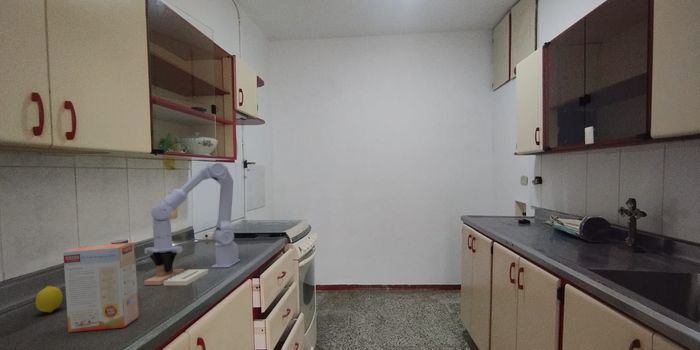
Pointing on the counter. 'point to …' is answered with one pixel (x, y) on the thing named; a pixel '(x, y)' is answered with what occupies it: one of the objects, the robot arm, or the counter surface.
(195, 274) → the board
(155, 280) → the stub
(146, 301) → the counter surface
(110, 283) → the cracker box
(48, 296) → the lemon
